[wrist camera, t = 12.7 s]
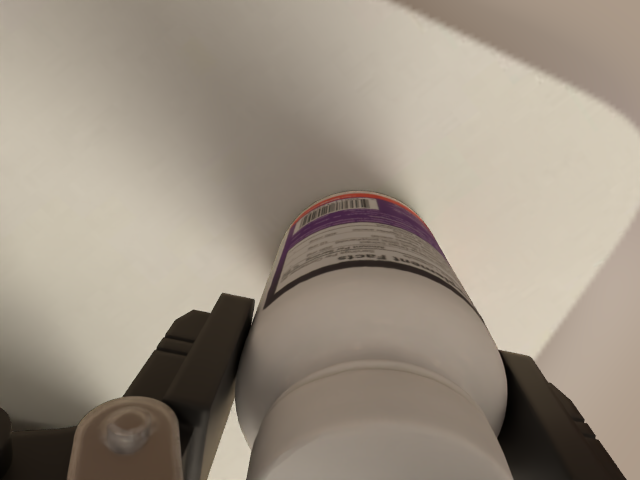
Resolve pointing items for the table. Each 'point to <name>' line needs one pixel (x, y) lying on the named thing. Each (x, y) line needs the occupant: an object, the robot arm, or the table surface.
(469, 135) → the table surface
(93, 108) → the table surface
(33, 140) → the table surface
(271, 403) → the pill bottle
